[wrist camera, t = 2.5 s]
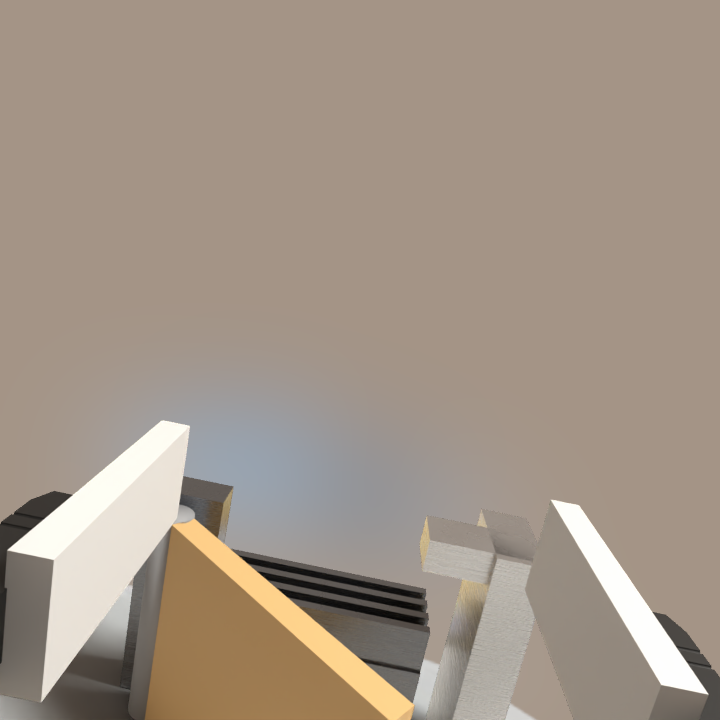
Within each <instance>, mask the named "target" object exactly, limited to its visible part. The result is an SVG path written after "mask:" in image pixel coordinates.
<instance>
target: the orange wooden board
mask: <svg viewBox="0 0 720 720" xmlns="http://www.w3.org/2000/svg"><path fill="white" fill-rule="evenodd" d="M414 706H415V705H414V704H412V703H411V702H410V701H409V700H408V699H406V698H405V697H404V696H403V695H402V694H401V693H399V692H398V691H397V690H396V689H395V688H393V687H392V686H391V685H390V684H389V683H388V682H386V681H385V680H384V679H383V678H382V677H380V676H379V675H378V674H377V673H376V672H375V671H373V670H372V669H371V668H370V667H369V666H368V665H366V664H365V663H364V662H363V661H362V660H360V659H359V658H358V657H357V656H356V655H355V654H353V653H352V652H351V651H350V650H349V649H347V648H346V647H345V646H344V645H343V644H342V643H340V642H339V641H338V640H337V639H336V638H334V637H333V636H332V635H331V634H330V633H329V632H327V631H326V630H325V629H324V628H323V627H322V626H320V625H319V624H318V623H317V622H316V621H314V620H313V619H312V618H311V617H310V616H309V615H307V614H306V613H305V612H304V611H303V610H301V609H300V608H299V607H298V606H297V605H296V604H294V603H293V602H292V601H291V600H290V599H289V598H287V597H286V596H285V595H284V594H283V593H281V592H280V591H279V590H278V589H277V588H276V587H274V586H273V585H272V584H271V583H270V582H268V581H267V580H266V579H265V578H264V577H263V576H261V575H260V574H259V573H258V572H257V571H255V570H254V569H253V568H252V567H251V566H250V565H248V564H247V563H246V562H245V561H244V560H243V559H241V558H240V557H239V556H238V555H237V554H235V553H234V552H233V551H232V550H231V549H230V548H228V547H227V546H226V545H225V544H224V543H222V542H221V541H220V540H219V539H218V538H217V537H215V536H214V535H213V534H212V533H211V532H209V531H208V530H207V529H206V528H205V527H204V526H202V525H201V524H200V523H199V522H198V521H197V520H195V513H194V511H193V510H192V509H191V508H189V507H187V506H184V505H179V509H178V516H177V519H176V520H175V522H174V523H173V524H172V526H171V527H170V528H169V530H168V531H167V533H166V534H165V535H164V537H163V538H162V539H161V541H160V542H159V543H158V545H157V546H156V547H155V549H154V550H153V552H152V553H151V554H150V556H149V557H148V559H147V567H146V574H145V582H144V589H143V597H142V605H141V612H140V620H139V628H138V635H137V643H136V651H135V658H134V666H133V674H132V681H131V689H130V696H129V704H128V713H129V715H130V716H131V717H132V718H133V719H134V720H411V718H412V714H413V710H414Z"/></svg>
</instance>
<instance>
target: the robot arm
mask: <svg viewBox="0 0 720 720" xmlns="http://www.w3.org/2000/svg"><path fill="white" fill-rule="evenodd" d="M189 430H190V426H188V425H183V424H177V423H173V422H168V421H163V420H162V421H161V422H160V423H158V424H157V425H156V426H155V427H154V428H152V429H151V430H150V431H149V432H148V433H147V434H145V435H144V436H143V437H142V438H140V439H139V440H138V441H137V442H136V443H135V444H133V445H132V446H131V447H130V448H129V449H127V450H126V451H125V452H124V453H123V454H122V455H120V456H119V457H118V458H117V459H116V460H114V461H113V462H112V463H111V464H109V465H108V466H107V467H106V468H105V469H104V470H102V471H101V472H100V473H99V474H98V475H96V476H95V477H94V478H93V479H92V480H90V481H89V482H88V483H87V484H86V485H84V486H83V487H82V488H81V489H80V490H78V491H77V492H76V493H75V494H74V495H70V494H66V493H61V492H56V491H53V492H50V493H48V494H45V495H42V496H40V497H37V498H34V499H31V500H30V501H28V502H27V503H26V504H24V505H23V506H22V507H20V508H19V509H18V510H16V511H15V513H14V515H12V514H11V515H10V516H9V517H7V518H6V519H5V520H3V521H2V522H1V524H0V695H5V696H10V697H15V698H20V699H24V700H29V701H34V702H39V703H41V702H42V701H43V699H44V698H45V697H46V695H47V694H48V693H49V691H50V690H51V689H52V687H53V686H54V685H55V683H56V682H57V680H58V679H59V678H60V676H61V675H62V674H63V672H64V671H65V670H66V668H67V667H68V666H69V664H70V663H71V661H72V660H73V659H74V657H75V656H76V655H77V653H78V652H79V651H80V649H81V648H82V647H83V645H84V644H85V642H86V641H87V640H88V638H89V637H90V636H91V634H92V633H93V632H94V630H95V629H96V628H97V626H98V625H99V623H100V622H101V621H102V619H103V618H104V617H105V615H106V614H107V613H108V611H109V610H110V609H111V607H112V606H113V604H114V603H115V602H116V600H117V599H118V598H119V596H120V595H121V594H122V592H123V591H124V590H125V588H126V587H127V585H128V584H129V583H130V581H131V580H132V579H133V577H134V576H135V575H136V573H137V572H138V571H139V569H140V568H141V566H142V565H143V564H144V562H145V561H146V560H147V558H148V557H149V556H150V554H151V553H152V552H153V550H154V549H155V547H156V546H157V545H158V543H159V542H160V541H161V539H162V538H163V537H164V535H165V534H166V533H167V531H168V530H169V528H170V527H171V526H172V524H173V523H174V522H175V520H176V519H177V516H178V509H179V501H180V494H181V487H182V480H183V473H184V465H185V459H186V451H187V444H188V436H189ZM525 592H526V594H527V597H528V600H529V602H530V605H531V608H532V610H533V613H534V616H535V618H536V621H537V624H538V626H539V629H540V631H541V634H542V636H543V639H544V642H545V645H546V647H547V650H548V653H549V655H550V658H551V661H552V663H553V666H554V669H555V671H556V674H557V676H558V679H559V682H560V685H561V687H562V690H563V693H564V695H565V698H566V701H567V703H568V706H569V709H570V711H571V714H572V717H573V719H574V720H720V677H719V676H718V674H717V673H716V672H715V670H712V669H711V665H710V664H709V662H708V661H707V660H706V658H705V657H704V655H703V654H700V650H699V649H698V647H697V646H696V645H695V643H694V642H693V641H692V639H691V638H690V636H689V635H688V634H687V633H686V632H685V631H684V630H683V629H682V628H681V627H679V626H678V625H677V624H676V623H675V622H674V621H672V620H671V619H670V618H669V617H668V616H666V615H664V614H659V613H654V612H652V611H651V610H650V609H649V607H648V606H647V604H646V603H645V601H644V600H643V598H642V597H641V595H640V594H639V592H638V591H637V589H636V588H635V586H634V585H633V584H632V582H631V581H630V579H629V578H628V576H627V575H626V573H625V572H624V570H623V569H622V568H621V566H620V565H619V563H618V562H617V560H616V559H615V557H614V556H613V554H612V553H611V552H610V550H609V549H608V547H607V546H606V544H605V543H604V541H603V540H602V538H601V537H600V535H599V534H598V533H597V531H596V530H595V528H594V527H593V525H592V524H591V522H590V521H589V520H588V518H587V517H586V515H585V514H584V512H583V511H582V509H581V508H580V506H579V505H575V504H570V503H565V502H559V501H555V500H551V501H550V504H549V508H548V511H547V514H546V518H545V521H544V525H543V528H542V532H541V535H540V538H539V542H538V545H537V549H536V552H535V556H534V559H533V562H532V566H531V569H530V573H529V576H528V580H527V583H526V586H525Z"/></svg>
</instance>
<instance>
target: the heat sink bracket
mask: <svg viewBox="0 0 720 720" xmlns="http://www.w3.org/2000/svg"><path fill="white" fill-rule="evenodd" d="M232 493H233V486H228V485H223V484H218V483H213V482H208V481H203V480H198V479H194V478H189V477H184V476H183V480H182V487H181V494H180V501H179V505H184V506H187V507H189V508H191V509H192V510H193V511H194V513H195V520H197V521H198V522H199V523H200V524H201V525H202V526H204V527H205V528H206V529H207V530H208V531H209V532H211V533H212V534H213V535H214V536H215V537H217V538H218V539H219V540H220V541H221V542H222V543H224V541H225V536H226V530H227V524H228V518H229V511H230V505H231V499H232ZM537 545H538V542H537V540H536V538H535V536H534V534H533V532H532V530H531V528H530V525H529V523H528V521H527V519H526V518H522V517H518V516H512V515H508V514H503V513H498V512H493V511H488V510H483V509H481V512H480V516H479V520H478V524H477V525H472V524H467V523H462V522H457V521H452V520H447V519H443V518H438V517H432V516H428V515H427V516H426V520H425V525H424V529H423V533H422V537H421V541H420V552H421V563H422V571H424V572H429V573H434V574H438V575H443V576H448V577H453V578H458V579H463V580H462V584H461V587H460V591H459V595H458V599H457V602H456V606H455V610H454V614H453V617H452V621H451V625H450V629H449V632H448V636H447V640H446V644H445V647H444V652H443V655H442V659H441V663H440V666H439V670H438V674H437V678H436V681H435V685H434V689H433V693H432V696H431V700H430V704H429V708H428V711H427V715H426V719H425V720H505V718H506V715H507V711H508V708H509V705H510V701H511V698H512V694H513V691H514V688H515V685H516V681H517V678H518V675H519V671H520V668H521V665H522V662H523V658H524V655H525V652H526V648H527V645H528V641H529V638H530V635H531V632H532V628H533V625H534V621H535V616H534V613H533V610H532V608H531V605H530V602H529V600H528V597H527V594H526V592H525V586H526V583H527V580H528V576H529V573H530V569H531V566H532V562H533V559H534V556H535V552H536V549H537ZM231 550H232V551H233V552H234V553H235V554H237V555H238V556H239V557H240V558H241V559H243V560H244V561H245V562H246V563H247V564H248V565H250V566H251V567H252V568H253V569H254V570H255V571H257V572H258V573H259V574H260V575H261V576H263V577H264V578H265V579H266V580H267V581H268V582H270V583H271V584H272V585H273V586H274V587H276V588H277V589H278V590H279V591H280V592H281V593H283V594H284V595H285V596H286V597H287V598H289V599H290V600H291V601H292V602H293V603H294V604H296V605H297V606H298V607H299V608H300V609H301V610H303V611H304V612H305V613H306V614H307V615H309V616H310V617H311V618H312V619H313V620H314V621H316V622H317V623H318V624H319V625H320V626H322V627H323V628H324V629H325V630H326V631H327V632H329V633H330V634H331V635H332V636H333V637H334V638H336V639H337V640H338V641H339V642H340V643H342V644H343V645H344V646H345V647H346V648H347V649H349V650H350V651H351V652H352V653H353V654H355V655H356V656H357V657H358V658H359V659H360V660H362V661H363V662H364V663H365V664H366V665H368V666H369V667H370V668H371V669H372V670H373V671H375V672H376V673H377V674H378V675H379V676H380V677H382V678H383V679H384V680H385V681H386V682H388V683H389V684H390V685H391V686H392V687H393V688H395V689H396V690H397V691H398V692H399V693H401V694H402V695H403V696H404V697H405V698H406V699H408V700H409V701H410V702H411V703H412V704H413V700H414V696H415V692H416V688H417V684H418V680H419V677H420V670H421V666H422V662H423V658H424V654H425V650H426V647H427V643H428V639H429V635H430V628H429V627H427V624H428V620H429V618H428V613H426V609H427V601H425V596H426V589H423V588H418V587H413V586H409V585H404V584H399V583H394V582H389V581H384V580H380V579H375V578H370V577H365V576H360V575H355V574H351V573H345V572H341V571H336V570H331V569H326V568H322V567H317V566H311V565H307V564H302V563H297V562H292V561H287V560H282V559H278V558H273V557H268V556H263V555H258V554H254V553H249V552H244V551H239V550H234V549H231ZM147 559H148V558H147ZM146 567H147V560H146V561H145V562H144V564H143V565H142V566H141V568H140V569H139V571H138V572H137V573H136V575H135V576H134V581H133V589H132V597H131V605H130V613H129V621H128V629H127V637H126V645H125V653H124V661H123V669H122V677H121V684H120V687H123V688H128V689H131V681H132V674H133V666H134V658H135V651H136V643H137V635H138V628H139V620H140V612H141V605H142V597H143V589H144V582H145V574H146Z"/></svg>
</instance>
